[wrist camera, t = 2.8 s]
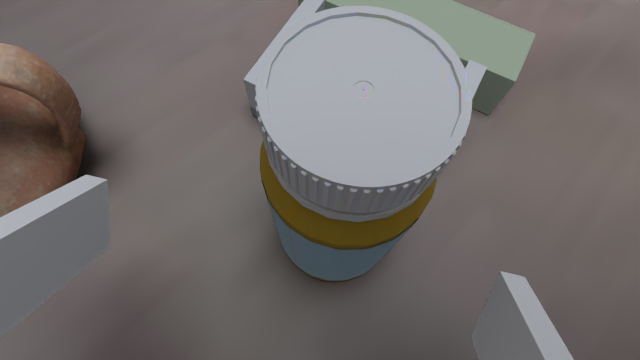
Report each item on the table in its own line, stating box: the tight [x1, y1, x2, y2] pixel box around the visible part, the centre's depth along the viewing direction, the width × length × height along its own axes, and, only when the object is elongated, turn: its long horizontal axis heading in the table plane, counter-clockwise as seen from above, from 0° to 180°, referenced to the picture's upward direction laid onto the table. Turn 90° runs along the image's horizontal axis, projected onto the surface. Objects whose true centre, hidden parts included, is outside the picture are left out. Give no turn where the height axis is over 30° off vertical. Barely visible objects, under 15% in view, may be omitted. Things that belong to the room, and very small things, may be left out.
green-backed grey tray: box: [244, 0, 536, 118], centre depth 27 cm, size 16×13×4 cm
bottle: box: [255, 6, 472, 281], centre depth 18 cm, size 7×7×15 cm
